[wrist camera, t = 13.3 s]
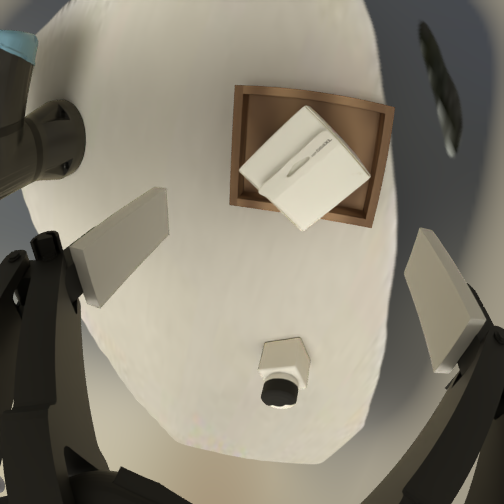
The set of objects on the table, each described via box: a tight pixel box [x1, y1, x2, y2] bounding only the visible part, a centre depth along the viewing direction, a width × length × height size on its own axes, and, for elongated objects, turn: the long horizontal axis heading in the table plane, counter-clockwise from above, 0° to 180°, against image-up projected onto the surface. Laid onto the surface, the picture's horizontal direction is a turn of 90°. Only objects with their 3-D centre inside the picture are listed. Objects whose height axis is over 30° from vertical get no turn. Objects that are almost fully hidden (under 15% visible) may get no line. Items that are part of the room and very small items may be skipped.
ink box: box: [239, 105, 371, 231], centre depth 28 cm, size 9×8×13 cm
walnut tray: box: [230, 85, 395, 228], centre depth 32 cm, size 18×15×4 cm
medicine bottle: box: [258, 338, 310, 409], centre depth 48 cm, size 7×7×12 cm
